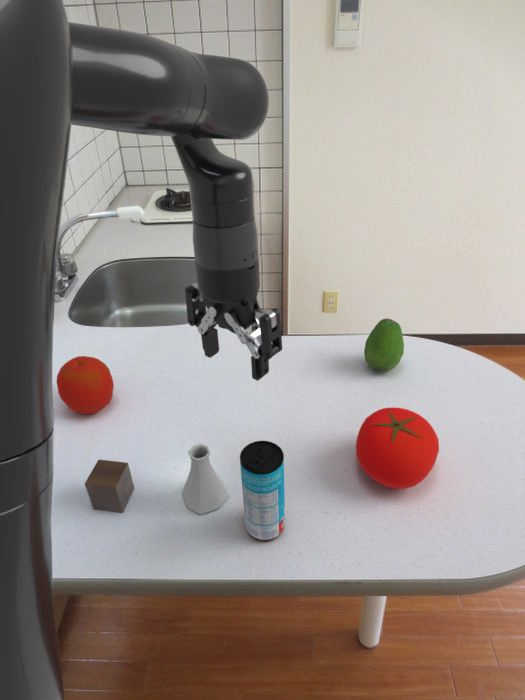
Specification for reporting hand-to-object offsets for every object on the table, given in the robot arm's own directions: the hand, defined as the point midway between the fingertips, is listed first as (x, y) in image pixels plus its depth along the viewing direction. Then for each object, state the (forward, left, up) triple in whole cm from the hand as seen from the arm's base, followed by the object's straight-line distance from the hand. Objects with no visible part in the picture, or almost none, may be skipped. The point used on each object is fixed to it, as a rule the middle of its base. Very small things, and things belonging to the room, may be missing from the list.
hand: (235, 365), depth 71 cm
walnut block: (-12, +18, -25) cm, 33 cm away
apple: (+3, +38, -25) cm, 45 cm away
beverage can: (-5, -6, -25) cm, 26 cm away
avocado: (+41, -8, -25) cm, 49 cm away
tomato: (+15, -19, -25) cm, 35 cm away
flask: (-4, +5, -25) cm, 26 cm away
